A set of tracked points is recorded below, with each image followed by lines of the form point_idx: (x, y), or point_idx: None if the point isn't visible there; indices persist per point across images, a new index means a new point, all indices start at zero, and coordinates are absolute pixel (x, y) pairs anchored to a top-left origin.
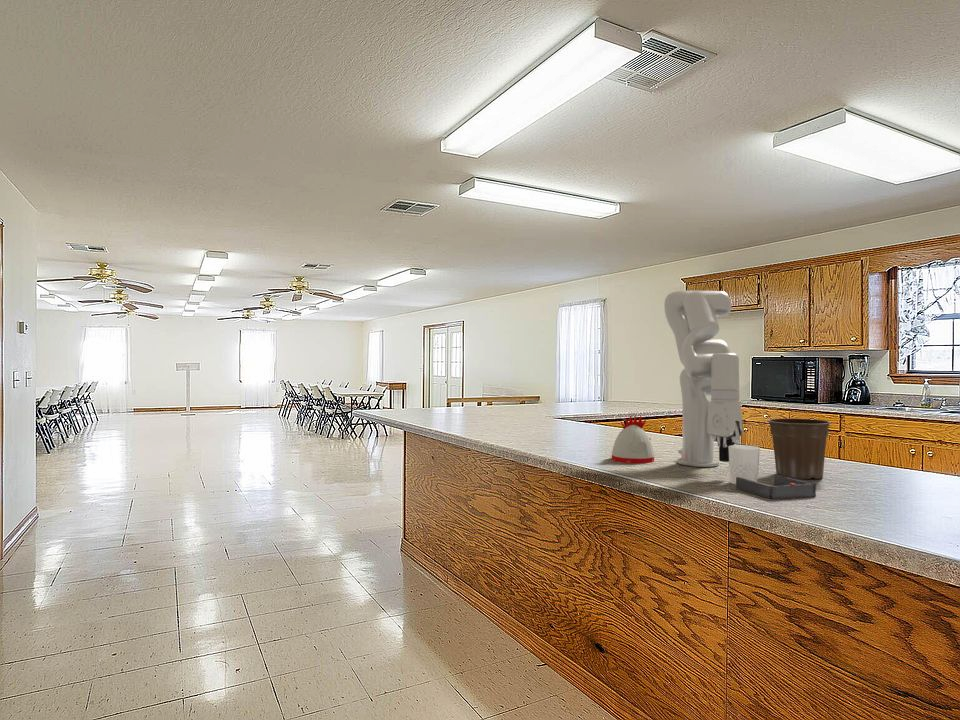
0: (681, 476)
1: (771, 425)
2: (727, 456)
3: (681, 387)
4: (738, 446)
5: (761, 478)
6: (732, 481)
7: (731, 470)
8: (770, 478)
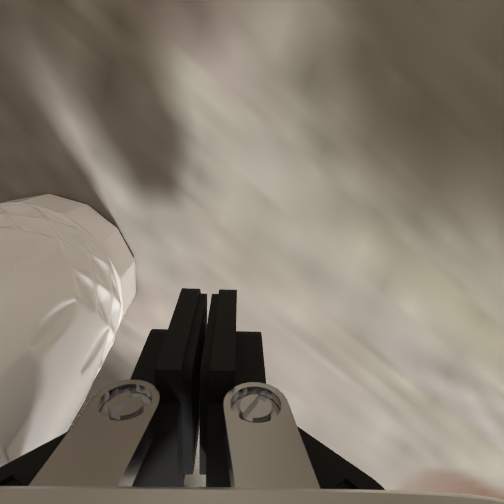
0: (414, 12)
1: None
2: (148, 342)
3: None
4: None
5: None
6: (50, 197)
7: (14, 213)
8: None
